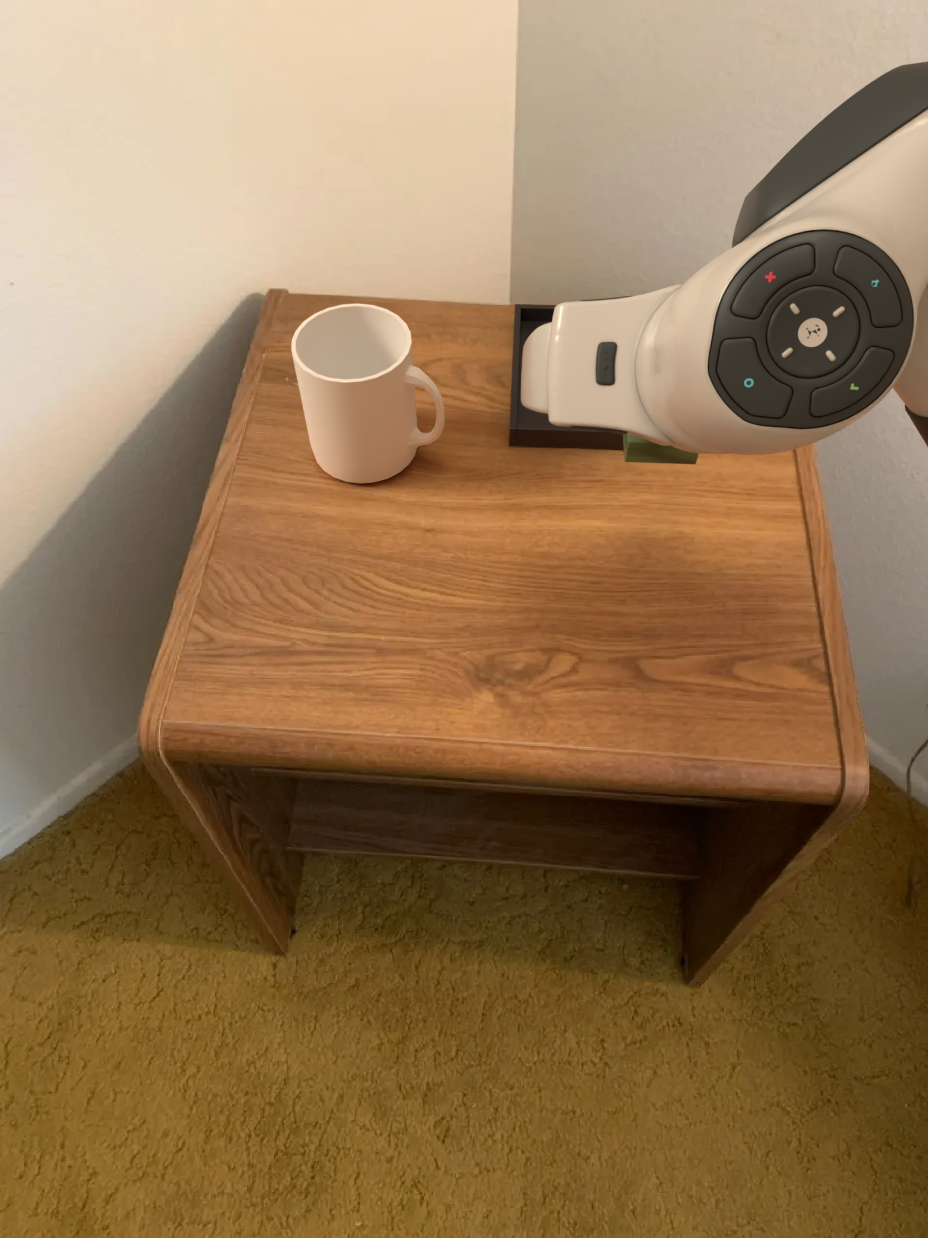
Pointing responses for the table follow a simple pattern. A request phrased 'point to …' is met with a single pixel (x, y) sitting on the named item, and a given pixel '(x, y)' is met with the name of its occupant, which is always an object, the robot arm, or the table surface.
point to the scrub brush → (654, 452)
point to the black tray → (536, 425)
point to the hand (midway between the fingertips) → (669, 385)
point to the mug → (361, 392)
